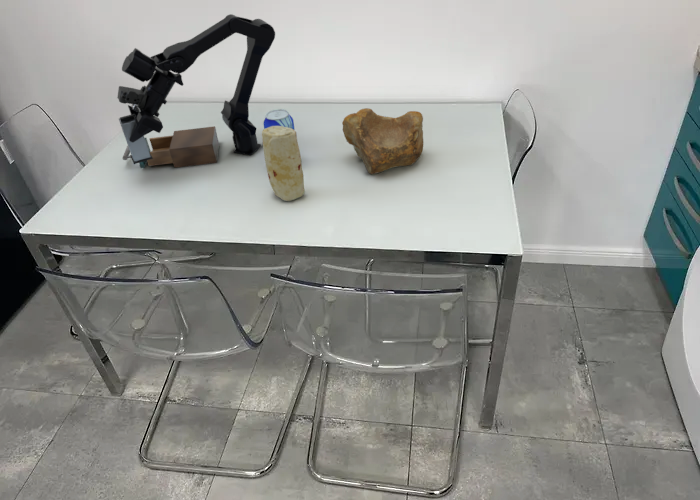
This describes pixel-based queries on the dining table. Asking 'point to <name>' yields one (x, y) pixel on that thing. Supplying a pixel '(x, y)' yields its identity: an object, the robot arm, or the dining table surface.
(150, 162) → the drawer
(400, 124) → the rough brown rock
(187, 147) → the cabinet
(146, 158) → the grey box with handle
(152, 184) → the dining table surface
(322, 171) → the dining table surface
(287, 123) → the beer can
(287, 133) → the food model
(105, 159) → the dining table surface
